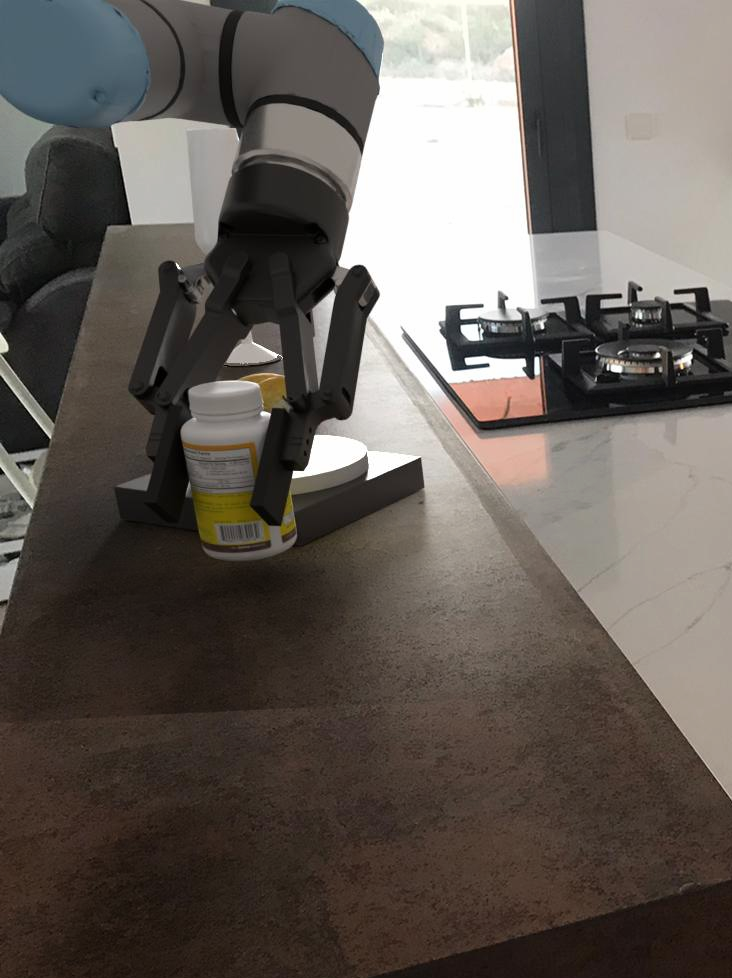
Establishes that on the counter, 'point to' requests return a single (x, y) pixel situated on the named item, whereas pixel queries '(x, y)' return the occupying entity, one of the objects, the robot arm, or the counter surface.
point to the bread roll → (270, 390)
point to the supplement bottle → (230, 472)
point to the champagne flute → (216, 205)
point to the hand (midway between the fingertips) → (213, 513)
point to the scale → (312, 488)
